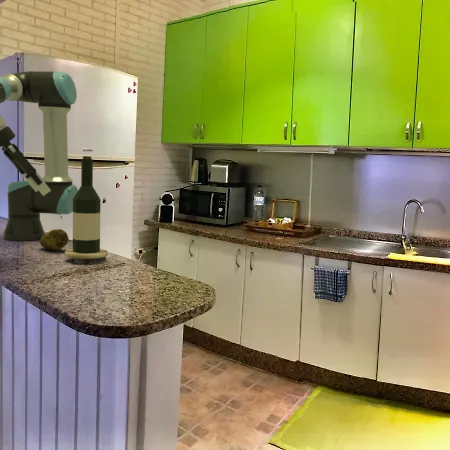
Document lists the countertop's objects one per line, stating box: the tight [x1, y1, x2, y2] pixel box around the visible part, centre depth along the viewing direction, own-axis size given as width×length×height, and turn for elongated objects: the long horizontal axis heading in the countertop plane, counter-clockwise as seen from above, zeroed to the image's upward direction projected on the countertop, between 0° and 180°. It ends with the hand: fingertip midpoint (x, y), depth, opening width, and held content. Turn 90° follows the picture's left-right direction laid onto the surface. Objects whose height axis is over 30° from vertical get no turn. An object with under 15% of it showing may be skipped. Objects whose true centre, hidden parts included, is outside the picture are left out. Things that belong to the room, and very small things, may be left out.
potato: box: [39, 228, 69, 251], centre depth 160 cm, size 8×13×8 cm, turn 31°
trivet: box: [64, 248, 108, 265], centre depth 146 cm, size 13×13×3 cm
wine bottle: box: [72, 155, 101, 254], centre depth 144 cm, size 8×8×30 cm
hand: (43, 191), depth 141 cm, fingers open, 13 cm apart
